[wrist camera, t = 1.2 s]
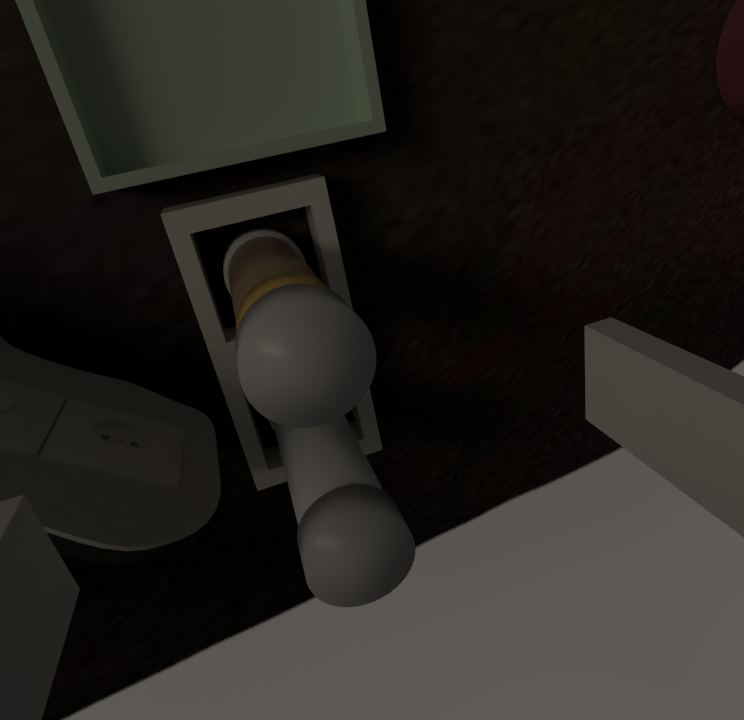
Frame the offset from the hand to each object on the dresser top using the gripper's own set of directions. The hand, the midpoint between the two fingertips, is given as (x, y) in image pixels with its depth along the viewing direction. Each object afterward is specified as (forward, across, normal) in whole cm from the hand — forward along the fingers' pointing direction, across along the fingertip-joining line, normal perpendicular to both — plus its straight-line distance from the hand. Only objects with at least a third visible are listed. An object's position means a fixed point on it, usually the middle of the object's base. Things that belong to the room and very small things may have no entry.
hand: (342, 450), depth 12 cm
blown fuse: (+20, 0, 0) cm, 20 cm away
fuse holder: (+20, 0, -4) cm, 20 cm away
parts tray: (+20, 0, +13) cm, 24 cm away
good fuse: (+20, 0, -8) cm, 22 cm away
